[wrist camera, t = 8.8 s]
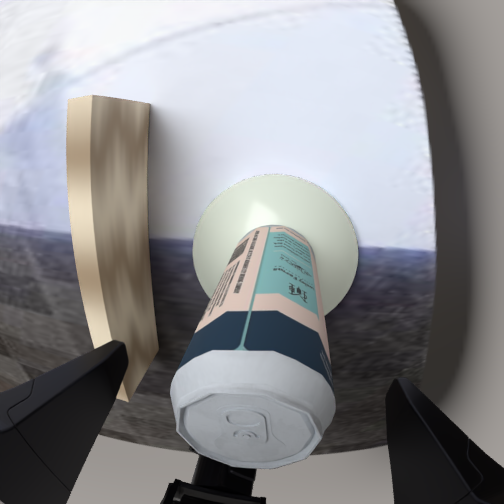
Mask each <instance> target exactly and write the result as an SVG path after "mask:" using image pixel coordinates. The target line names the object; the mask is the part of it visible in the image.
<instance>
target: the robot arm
mask: <svg viewBox="0 0 504 504" xmlns="http://www.w3.org/2000/svg"><path fill="white" fill-rule="evenodd" d="M128 365H129V358H128V354H127V349H126V345H125V343H124V342H121V341H118V340H112V341H110V342H108V343H106V344H104V345H102V346H100V347H98V348H96V349H94V350H91V351H89V352H87V353H85V354H83V355H81V356H79V357H77V358H75V359H73V360H71V361H69V362H67V363H65V364H63V365H61V366H59V367H57V368H55V369H53V370H51V371H48V372H46V373H44V374H42V375H40V376H38V377H36V378H35V379H32V380H30V381H27V382H25V383H23V384H21V385H19V386H16V387H14V388H11V389H9V390H6V391H4V392H1V393H0V504H66V503H67V501H68V499H69V496H70V494H71V492H70V491H72V489H73V487H74V485H75V482H76V480H77V478H78V476H79V474H80V472H81V469H82V467H83V465H84V463H85V461H86V458H87V457H88V454H89V452H90V450H91V448H92V446H93V444H94V442H95V440H96V438H97V436H98V434H99V432H100V430H101V428H102V426H103V424H104V422H105V420H106V418H107V416H108V414H109V412H110V410H111V408H112V406H113V404H114V402H115V399H116V397H117V394H118V392H119V389H120V386H121V384H122V381H123V378H124V376H125V373H126V371H127V368H128ZM385 403H386V425H387V442H388V449H389V457H390V464H391V473H392V482H393V493H394V504H504V468H503V467H502V466H501V465H499V464H498V463H497V462H496V461H494V460H493V459H492V458H490V456H488V455H487V454H486V453H485V452H484V451H483V450H481V449H480V448H479V447H478V446H477V445H476V444H475V443H474V442H473V441H472V440H471V439H469V438H468V436H467V435H466V434H465V433H464V432H463V431H462V430H461V429H460V428H459V427H458V426H456V424H454V423H453V422H452V421H451V420H450V419H449V418H448V417H447V416H446V415H445V414H444V413H443V412H442V411H441V410H440V409H439V408H438V407H437V406H436V405H435V404H434V403H433V402H432V401H431V400H430V399H428V397H426V396H425V395H424V394H423V393H422V392H421V391H420V390H419V389H418V388H417V387H416V386H415V385H414V384H413V383H412V382H411V381H410V380H409V379H407V378H395V379H394V380H393V382H392V384H391V386H390V388H389V390H388V392H387V394H386V398H385ZM189 450H190V451H192V452H194V453H196V454H198V455H199V458H198V462H197V465H196V468H195V472H194V475H193V479H192V482H191V484H189V483H186V482H182V481H181V480H178V479H175V481H174V483H169V485H168V488H167V491H166V493H165V496H164V498H163V500H162V501H161V503H160V504H266V498H265V497H260V498H259V497H253V496H251V495H252V489H253V483H254V481H255V476H256V469H257V468H241V467H232V466H230V465H227V464H224V463H222V462H219V461H216V460H214V459H211V458H209V457H206V456H204V455H202V454H199V453H198V452H197V451H196V450H195V449H193V448H192V447H191V446H190V448H189Z"/></svg>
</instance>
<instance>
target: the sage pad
mask: <svg viewBox="0 0 504 504" xmlns="http://www.w3.org/2000/svg"><path fill="white" fill-rule="evenodd" d="M266 225H282V226H286V227H289V228H292V229H294V230H295V231H297V232H298V233H300V234H301V235H303V236H304V237H305V239H306V240H307V241H308V242H309V244H310V245H311V247H312V249H313V252H314V255H315V261H316V267H317V273H318V279H319V285H320V291H321V297H322V304H323V311H324V316H325V315H326V314H328V313H329V312H330V311H331V310H333V309H334V308H335V307H336V306H337V305H338V304H339V303H340V302H341V300H342V299H343V298H344V296H345V295H346V294H347V292H348V290H349V288H350V286H351V285H352V282H353V280H354V277H355V274H356V269H357V265H358V243H357V239H356V234H355V231H354V228H353V226H352V223H351V221H350V219H349V218H348V216H347V214H346V212H345V211H344V210H343V208H342V207H341V206H340V204H339V203H338V202H337V201H336V200H335V199H334V198H333V197H332V196H331V195H330V194H329V193H328V192H326V191H325V190H323V189H322V188H321V187H319V186H317V185H315V184H314V183H312V182H310V181H307V180H304V179H302V178H299V177H295V176H290V175H283V174H265V175H259V176H254V177H251V178H248V179H244V180H242V181H240V182H238V183H236V184H234V185H232V186H231V187H229V188H228V189H226V190H225V191H223V192H222V193H221V194H220V195H219V196H217V197H216V198H215V199H214V200H213V201H212V202H211V204H210V205H209V206H208V207H207V208H206V210H205V212H204V213H203V215H202V217H201V218H200V221H199V223H198V225H197V228H196V232H195V235H194V241H193V261H194V267H195V271H196V274H197V277H198V279H199V282H200V284H201V286H202V287H203V289H204V291H205V292H206V294H207V295H208V296H209V298H210V299H211V298H212V295H213V293H214V291H215V289H216V287H217V285H218V283H219V281H220V279H221V277H222V275H223V273H224V271H225V269H226V267H227V265H228V262H229V260H230V258H231V256H232V254H233V252H234V250H235V248H236V246H237V244H238V243H239V241H240V240H241V239H242V238H243V237H244V236H245V235H246V234H247V233H248V232H250V231H251V230H253V229H255V228H258V227H260V226H266Z"/></svg>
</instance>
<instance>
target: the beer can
mask: <svg viewBox="0 0 504 504" xmlns="http://www.w3.org/2000/svg"><path fill="white" fill-rule="evenodd" d="M170 395H171V400H172V405H173V410H174V414H175V419H176V424H177V429H176V431H177V432H178V433H179V434H180V435H181V436H182V437H183V438H184V439H185V441H186V442H187V443H188V444H189V445H190V446H191V447H192V448H193V449H195V450H196V451H197V452H198V453H199V454H202V455H204V456H206V457H209V458H211V459H214V460H216V461H219V462H222V463H224V464H227V465H230V466H232V467H241V468H257V469H275V468H278V467H282V466H285V465H288V464H291V463H295V462H298V461H301V460H304V459H306V458H307V457H308V456H309V455H310V453H311V452H312V451H313V450H314V448H315V447H316V446H317V444H318V443H319V442H320V440H321V439H322V435H323V433H324V431H325V429H326V428H327V427H328V426H329V425H330V424H331V421H332V419H333V416H334V413H335V408H336V407H335V397H334V388H333V379H332V370H331V362H330V354H329V346H328V339H327V331H326V324H325V317H324V311H323V304H322V297H321V291H320V285H319V279H318V273H317V267H316V261H315V255H314V252H313V249H312V247H311V245H310V244H309V242H308V241H307V240H306V239H305V237H304V236H303V235H301V234H300V233H298V232H297V231H295V230H294V229H292V228H289V227H286V226H282V225H266V226H260V227H258V228H255V229H253V230H251V231H250V232H248V233H247V234H246V235H245V236H244V237H243V238H242V239H241V240H240V241H239V243H238V244H237V246H236V248H235V250H234V252H233V254H232V256H231V258H230V260H229V262H228V265H227V267H226V269H225V271H224V273H223V275H222V277H221V279H220V281H219V283H218V285H217V287H216V289H215V291H214V293H213V295H212V298H211V300H210V302H209V304H208V306H207V308H206V310H205V312H204V314H203V316H202V318H201V320H200V323H199V325H198V327H197V329H196V331H195V333H194V335H193V337H192V339H191V342H190V344H189V346H188V348H187V350H186V352H185V354H184V356H183V358H182V361H181V363H180V365H179V367H178V369H177V371H176V374H175V376H174V378H173V380H172V383H171V390H170Z"/></svg>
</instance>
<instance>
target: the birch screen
mask: <svg viewBox="0 0 504 504" xmlns="http://www.w3.org/2000/svg"><path fill="white" fill-rule="evenodd" d="M149 110H150V104H149V103H143V102H138V101H132V100H125V99H119V98H112V97H105V96H97V95H89V96H84V97H78V98H73V99H68V109H67V137H66V159H67V187H68V202H69V214H70V224H71V233H72V241H73V248H74V255H75V262H76V268H77V274H78V279H79V284H80V290H81V295H82V299H83V304H84V309H85V313H86V317H87V321H88V325H89V329H90V333H91V337H92V341H93V344H94V348H95V349H96V348H98V347H100V346H102V345H104V344H106V343H108V342H110V341H112V340H118V341H121V342H124V343H125V345H126V349H127V354H128V358H129V365H128V368H127V371H126V373H125V376H124V378H123V381H122V384H121V386H120V389H119V392H118V394H117V397H116V398H118V399H121V400H124V401H127V402H129V401H130V399H131V397H132V395H133V393H134V392H135V390H136V388H137V386H138V385H139V383H140V381H141V379H142V378H143V376H144V374H145V372H146V371H147V369H148V367H149V366H150V364H151V362H152V360H153V359H154V357H155V355H156V353H157V352H158V350H159V346H158V338H157V330H156V322H155V313H154V303H153V293H152V282H151V269H150V253H149V234H148V201H147V161H148V128H149Z"/></svg>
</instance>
